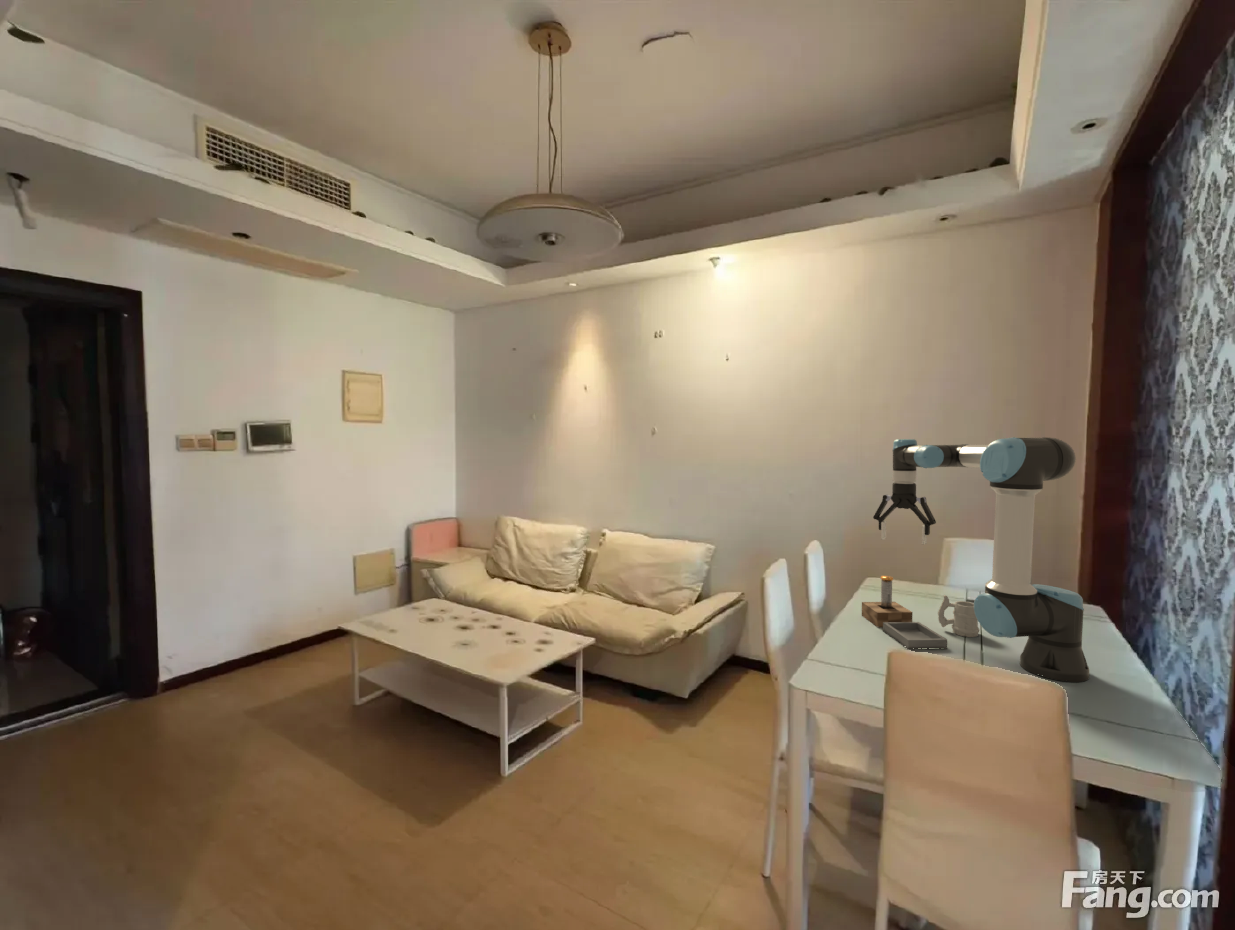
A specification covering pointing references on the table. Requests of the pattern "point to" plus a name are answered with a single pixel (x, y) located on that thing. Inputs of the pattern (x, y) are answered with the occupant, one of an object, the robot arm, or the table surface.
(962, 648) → the table surface
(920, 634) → the tray
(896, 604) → the block
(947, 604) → the mug
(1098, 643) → the table surface
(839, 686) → the table surface
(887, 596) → the pin
